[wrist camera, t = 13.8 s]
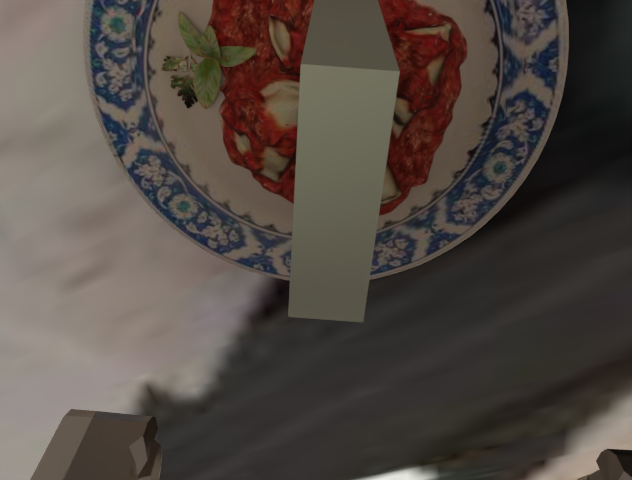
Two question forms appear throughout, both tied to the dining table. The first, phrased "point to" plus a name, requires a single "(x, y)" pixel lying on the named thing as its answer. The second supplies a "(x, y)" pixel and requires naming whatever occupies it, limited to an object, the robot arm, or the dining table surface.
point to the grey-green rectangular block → (340, 157)
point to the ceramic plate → (282, 116)
